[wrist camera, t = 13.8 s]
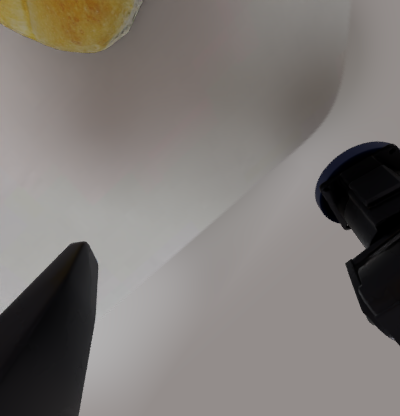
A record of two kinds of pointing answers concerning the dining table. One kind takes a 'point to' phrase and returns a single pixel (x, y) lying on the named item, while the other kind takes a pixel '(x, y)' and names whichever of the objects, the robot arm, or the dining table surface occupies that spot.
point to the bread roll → (70, 22)
